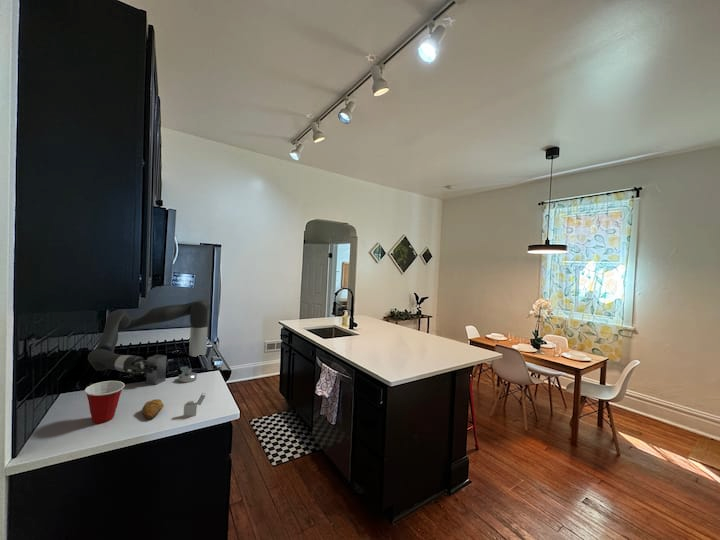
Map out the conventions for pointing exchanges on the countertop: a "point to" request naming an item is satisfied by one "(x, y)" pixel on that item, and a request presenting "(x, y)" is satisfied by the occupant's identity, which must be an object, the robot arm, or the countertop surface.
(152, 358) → the gray rectangular block
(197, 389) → the countertop surface
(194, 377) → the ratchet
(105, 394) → the plastic cup
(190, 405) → the lighter
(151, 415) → the croissant
